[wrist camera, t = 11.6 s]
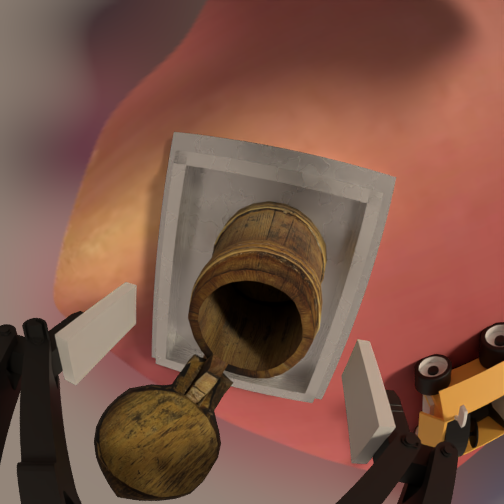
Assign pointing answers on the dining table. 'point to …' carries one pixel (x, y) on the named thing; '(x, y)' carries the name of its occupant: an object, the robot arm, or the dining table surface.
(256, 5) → the dining table surface
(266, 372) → the wooden mug
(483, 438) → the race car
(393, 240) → the dining table surface
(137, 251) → the dining table surface
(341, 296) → the mug bay
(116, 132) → the dining table surface
